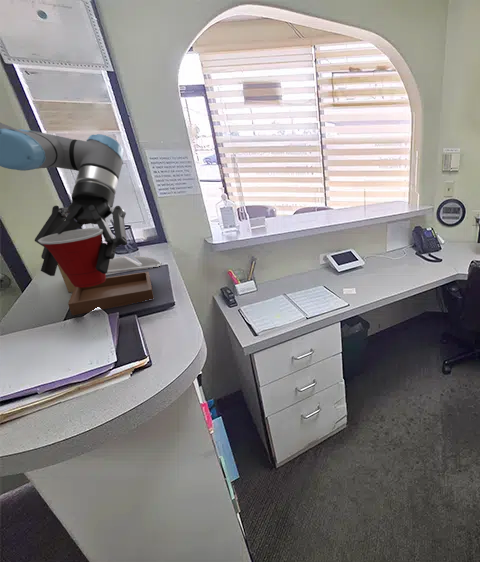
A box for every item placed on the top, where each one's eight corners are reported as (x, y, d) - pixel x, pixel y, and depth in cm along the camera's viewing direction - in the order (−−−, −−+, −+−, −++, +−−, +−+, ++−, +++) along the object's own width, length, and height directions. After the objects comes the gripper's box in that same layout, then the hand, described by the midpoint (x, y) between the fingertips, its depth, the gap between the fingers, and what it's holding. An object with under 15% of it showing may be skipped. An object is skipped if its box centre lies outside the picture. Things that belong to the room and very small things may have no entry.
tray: (72, 315, 80) (67, 304, 78) (79, 292, 93) (76, 282, 91) (154, 299, 89) (151, 289, 88) (150, 280, 102) (148, 271, 101)
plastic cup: (57, 281, 73) (37, 231, 68) (115, 271, 79) (101, 225, 75) (56, 297, 65) (33, 242, 61) (120, 284, 72) (104, 234, 68)
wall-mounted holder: (156, 255, 112) (85, 262, 104) (159, 267, 114) (90, 274, 105) (158, 251, 118) (91, 256, 109) (161, 262, 119) (95, 269, 110)
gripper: (152, 200, 82) (140, 276, 74) (53, 199, 77) (28, 281, 69) (138, 180, 75) (122, 262, 67) (29, 178, 71) (-3, 267, 62)
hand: (74, 272), depth 68 cm, fingers closed on plastic cup, 9 cm apart
